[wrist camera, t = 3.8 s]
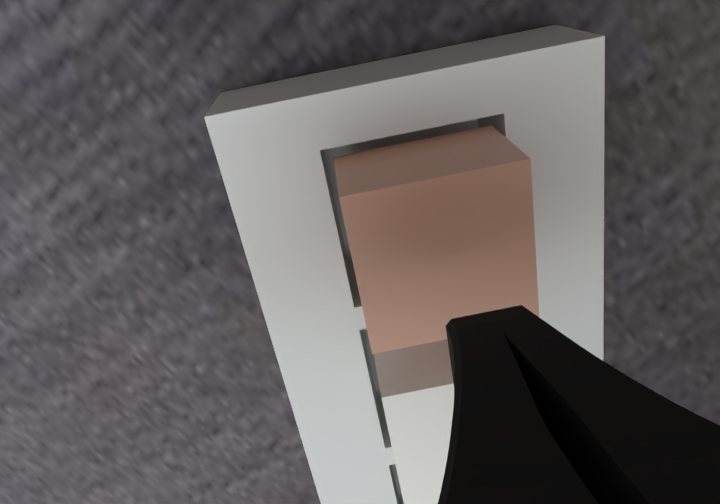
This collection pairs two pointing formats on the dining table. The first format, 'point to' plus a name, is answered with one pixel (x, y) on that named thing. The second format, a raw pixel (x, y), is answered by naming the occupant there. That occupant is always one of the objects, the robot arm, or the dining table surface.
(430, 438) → the key cream
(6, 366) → the dining table surface
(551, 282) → the key strip
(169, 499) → the dining table surface
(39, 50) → the dining table surface
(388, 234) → the key terracotta
